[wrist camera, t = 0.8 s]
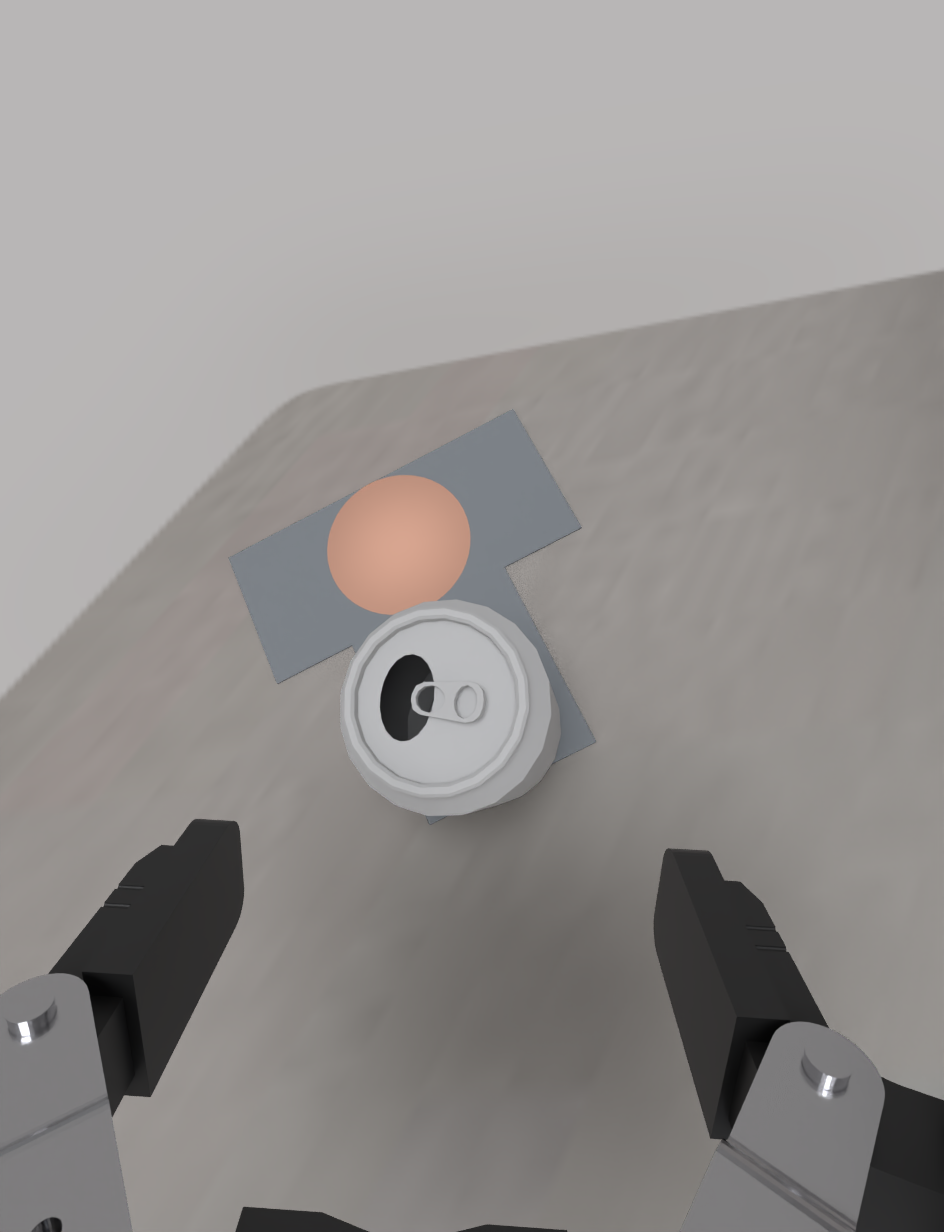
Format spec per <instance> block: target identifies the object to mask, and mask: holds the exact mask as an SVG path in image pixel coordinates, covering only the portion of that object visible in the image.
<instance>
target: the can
mask: <svg viewBox="0 0 944 1232" xmlns="http://www.w3.org/2000/svg"><path fill="white" fill-rule="evenodd" d="M340 728H341V731H342V735H343V738H344V741H345V745H346V748H347V751H348V755H349V758H350V760H351V761H352V762H353V764H354V765H355V767H356V768H357V770H358V771H359V773H360V774H361V776H362V777H363V778H364V780H365V781H366V783H367V784H368V786H370V787H371V788H372V789H374V790H375V791H376V792H378V793H379V794H380V795H382V796H383V797H384V798H386V799H387V800H388V801H390V802H391V803H392V804H394V805H395V806H398V807H401V808H404V809H407V810H411V811H414V812H417V813H420V814H423V815H426V816H447V815H465V814H468V813H472V812H475V811H479V810H483V809H486V808H490V807H494V806H497V805H500V804H503V803H505V802H508V801H511V800H513V799H516V798H519V797H521V796H523V795H524V794H525V793H526V792H528V791H529V790H530V789H531V788H533V787H534V786H535V785H536V784H537V783H539V782H540V781H541V780H542V778H543V777H544V775H545V774H546V772H547V771H548V769H549V767H550V766H551V764H552V763H553V761H554V759H555V756H556V752H557V748H558V744H559V740H560V736H561V727H560V712H559V707H558V704H557V701H556V699H555V696H554V693H553V690H552V687H551V685H550V682H549V679H548V677H547V674H546V672H545V669H544V667H543V664H542V662H541V659H540V657H539V654H538V652H537V649H536V648H535V647H534V646H533V644H532V643H531V642H530V641H529V640H528V639H527V637H526V636H525V635H524V634H523V633H522V631H521V630H520V629H519V628H518V627H517V625H516V624H515V623H513V622H511V621H510V620H508V619H506V618H505V617H503V616H502V615H500V614H498V613H497V612H495V611H493V610H492V609H490V608H489V607H486V606H482V605H478V604H473V603H469V602H465V601H461V600H457V599H456V600H443V601H430V602H423V603H420V604H418V605H415V606H413V607H410V608H408V609H405V610H403V611H400V612H398V613H396V614H394V615H393V616H391V617H390V618H389V619H388V620H386V621H385V622H384V623H383V624H381V625H380V626H379V627H378V628H376V629H375V630H374V631H373V632H371V633H370V634H369V635H368V637H367V638H366V640H365V641H364V643H363V644H362V645H361V647H360V648H359V650H358V651H357V653H356V654H355V656H354V657H353V659H352V660H351V662H350V665H349V668H348V671H347V674H346V677H345V680H344V683H343V687H342V690H341V693H340Z"/></svg>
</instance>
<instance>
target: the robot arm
mask: <svg viewBox="0 0 944 1232" xmlns="http://www.w3.org/2000/svg"><path fill="white" fill-rule="evenodd" d="M243 899H244V881H243V868H242V854H241V841H240V830H239V826H238V824H237V822H235V821H223V820H207V819H195V820H193V821H192V822H191V823H190V824H189V826H188V827H187V828H186V830H185V831H184V833H183V834H182V835H181V837H180V838H179V839H178V841H177V842H176V843H175V845H174V846H168V845H161V846H159V847H158V848H156V849H155V850H154V851H152V852H151V853H149V854H148V855H146V856H145V857H143V858H142V859H141V860H139V861H138V862H136V863H135V864H134V866H133V867H132V868H131V869H130V871H129V872H128V873H127V874H126V876H125V877H124V878H123V880H122V881H121V882H120V883H119V886H118V889H115V890H114V891H113V892H112V894H111V895H110V896H109V897H108V899H107V900H106V901H105V904H104V907H100V909H99V910H98V911H97V913H96V914H95V915H94V916H93V918H92V919H91V920H90V921H89V923H88V924H87V925H86V927H85V928H84V929H83V930H82V932H81V933H80V934H79V935H78V937H77V938H76V939H75V941H74V942H73V943H72V944H71V946H70V947H69V948H68V949H67V951H66V952H65V953H64V954H63V956H62V957H61V958H60V960H59V961H58V962H57V963H56V965H55V966H54V967H53V968H52V970H51V971H50V972H49V974H47V975H42V976H38V977H35V978H32V979H29V980H26V981H24V982H22V983H19V984H17V985H16V986H14V987H12V988H10V989H8V990H7V991H5V992H4V993H2V994H1V995H0V1232H133V1231H132V1225H131V1220H130V1214H129V1209H128V1203H127V1198H126V1192H125V1187H124V1181H123V1176H122V1170H121V1165H120V1159H119V1154H118V1148H117V1143H116V1137H115V1132H114V1126H113V1121H112V1117H113V1115H114V1113H115V1111H116V1109H117V1107H118V1105H119V1104H120V1102H121V1100H122V1098H123V1096H124V1095H129V1096H143V1097H151V1095H152V1093H153V1091H154V1089H155V1087H156V1085H157V1083H158V1081H159V1079H160V1077H161V1075H162V1073H163V1071H164V1069H165V1067H166V1065H167V1063H168V1061H169V1059H170V1057H171V1055H172V1053H173V1051H174V1049H175V1047H176V1045H177V1043H178V1041H179V1039H180V1037H181V1035H182V1033H183V1031H184V1029H185V1027H186V1025H187V1023H188V1021H189V1019H190V1017H191V1015H192V1013H193V1011H194V1009H195V1007H196V1005H197V1003H198V1001H199V999H200V997H201V995H202V993H203V991H204V989H205V987H206V985H207V983H208V981H209V979H210V977H211V975H212V973H213V971H214V969H215V967H216V965H217V963H218V961H219V959H220V957H221V955H222V953H223V951H224V949H225V947H226V945H227V943H228V941H229V939H230V937H231V935H232V933H233V931H234V929H235V927H236V925H237V923H238V920H239V917H240V914H241V910H242V905H243ZM654 940H655V947H656V952H657V956H658V959H659V963H660V966H661V969H662V973H663V976H664V980H665V983H666V987H667V990H668V994H669V997H670V1001H671V1004H672V1007H673V1011H674V1014H675V1018H676V1021H677V1025H678V1028H679V1032H680V1035H681V1039H682V1042H683V1045H684V1049H685V1052H686V1056H687V1059H688V1063H689V1066H690V1070H691V1073H692V1077H693V1080H694V1083H695V1087H696V1090H697V1094H698V1097H699V1101H700V1104H701V1108H702V1111H703V1115H704V1118H705V1121H706V1125H707V1128H708V1132H709V1135H710V1139H722V1140H721V1142H720V1143H719V1145H718V1147H717V1149H716V1151H715V1153H714V1155H713V1158H712V1160H711V1162H710V1164H709V1167H708V1169H707V1171H706V1173H705V1176H704V1178H703V1180H702V1182H701V1185H700V1187H699V1189H698V1191H697V1194H696V1196H695V1198H694V1200H693V1203H692V1205H691V1207H690V1209H689V1212H688V1214H687V1216H686V1218H685V1221H684V1223H683V1225H682V1228H681V1230H680V1232H944V1100H941V1099H938V1098H935V1097H932V1096H929V1095H926V1094H923V1093H921V1092H918V1091H915V1090H912V1089H909V1088H906V1087H903V1086H901V1085H898V1084H896V1083H893V1082H891V1081H889V1080H887V1079H885V1078H883V1077H881V1076H880V1074H879V1073H878V1071H877V1069H876V1067H875V1066H874V1064H873V1063H872V1062H871V1060H870V1059H869V1058H868V1057H867V1056H866V1054H865V1053H864V1052H863V1051H862V1050H861V1049H859V1048H858V1047H857V1046H856V1045H855V1044H854V1043H852V1042H851V1041H850V1040H848V1039H847V1038H846V1037H844V1036H842V1035H841V1034H839V1033H837V1032H835V1031H833V1030H831V1029H829V1027H828V1025H827V1023H826V1022H825V1020H824V1018H823V1016H822V1014H821V1012H820V1010H819V1008H818V1006H817V1005H816V1003H815V1001H814V999H813V997H812V995H811V993H810V991H809V990H808V988H807V986H806V984H805V982H804V980H803V978H802V976H801V974H800V973H799V971H798V969H797V967H796V965H795V963H794V961H793V959H792V957H791V956H790V954H789V952H786V946H785V944H784V942H783V940H782V939H781V937H780V935H779V933H778V932H776V930H775V925H774V924H773V922H772V920H771V918H770V916H769V914H768V912H767V910H766V908H765V907H764V905H763V903H762V902H761V901H760V900H759V899H758V898H757V897H756V896H755V895H754V894H753V893H752V892H750V891H749V890H748V889H747V888H746V887H745V886H744V885H743V884H742V883H741V882H737V881H724V879H723V877H722V875H721V873H720V871H719V869H718V866H717V864H716V862H715V860H714V858H713V856H712V854H711V853H710V852H709V851H703V850H686V849H670V848H668V849H667V850H666V851H665V854H664V857H663V863H662V869H661V876H660V882H659V889H658V895H657V901H656V908H655V914H654ZM236 1232H368V1231H366V1230H363V1229H361V1228H358V1227H356V1226H353V1225H351V1224H349V1223H346V1222H344V1221H341V1220H339V1219H337V1218H334V1217H332V1216H329V1215H327V1214H325V1213H322V1212H308V1211H294V1210H280V1209H267V1208H253V1207H243V1209H242V1213H241V1216H240V1219H239V1222H238V1225H237V1228H236ZM458 1232H567V1230H555V1229H542V1228H528V1227H514V1226H500V1225H483V1226H479V1227H475V1228H471V1229H466V1230H462V1231H458Z"/></svg>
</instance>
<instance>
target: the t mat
mask: <svg viewBox="0 0 944 1232" xmlns="http://www.w3.org/2000/svg"><path fill="white" fill-rule="evenodd" d="M581 528H582V527H581V526H580V524H579V522H578V520H577V519H576V517H575V515H574V513H573V512H572V510H571V508H570V506H569V505H568V503H567V501H566V500H565V498H564V496H563V494H562V493H561V491H560V489H559V487H558V486H557V484H556V482H555V481H554V479H553V477H552V475H551V474H550V472H549V470H548V468H547V467H546V465H545V463H544V462H543V460H542V458H541V456H540V455H539V453H538V451H537V449H536V448H535V446H534V444H533V443H532V441H531V439H530V437H529V436H528V434H527V432H526V430H525V429H524V427H523V425H522V423H521V422H520V420H519V418H518V417H517V415H516V413H515V411H514V410H513V409H512V410H510V411H508V412H506V413H505V414H503V415H501V416H499V417H497V418H495V419H493V420H491V421H489V422H487V423H485V424H483V425H482V426H480V427H478V428H476V429H474V430H472V431H470V432H468V433H466V434H464V435H462V436H461V437H459V438H457V439H455V440H453V441H451V442H449V443H447V444H445V445H443V446H441V447H440V448H438V449H436V450H434V451H432V452H430V453H428V454H426V455H424V456H422V457H420V458H418V459H417V460H415V461H413V462H411V463H409V464H407V465H405V466H403V467H401V468H399V469H397V470H396V471H394V472H392V473H390V474H388V475H386V476H384V477H382V478H380V479H378V480H376V481H375V482H372V483H370V484H368V485H367V486H365V487H363V488H361V489H359V490H357V491H355V492H353V493H352V494H350V495H348V496H346V497H344V498H342V499H340V500H338V501H336V502H334V503H332V504H331V505H329V506H327V507H325V508H323V509H321V510H319V511H317V512H315V513H313V514H311V515H310V516H308V517H306V518H304V519H302V520H300V521H298V522H296V523H294V524H292V525H290V526H288V527H287V528H285V529H283V530H281V531H279V532H277V533H275V534H273V535H271V536H269V537H267V538H266V539H264V540H262V541H260V542H258V543H256V544H254V545H252V546H250V547H248V548H246V549H245V550H243V551H241V552H239V553H237V554H235V555H233V556H231V557H229V560H230V563H231V565H232V568H233V571H234V573H235V576H236V578H237V581H238V584H239V586H240V589H241V591H242V594H243V597H244V599H245V602H246V604H247V607H248V610H249V612H250V615H251V617H252V620H253V623H254V625H255V628H256V630H257V633H258V635H259V638H260V641H261V643H262V646H263V648H264V651H265V654H266V656H267V659H268V661H269V664H270V667H271V669H272V672H273V674H274V677H275V680H276V682H277V684H279V683H281V682H282V681H284V680H286V679H288V678H290V677H292V676H294V675H296V674H298V673H300V672H302V671H304V670H306V669H308V668H310V667H312V666H314V665H316V664H318V663H320V662H321V661H323V660H325V659H327V658H329V657H331V656H333V655H335V654H337V653H339V652H341V651H343V650H345V649H347V648H349V647H351V646H353V648H354V651H355V653H357V651H358V650H359V648H360V647H361V645H362V644H363V643H364V641H365V640H366V638H367V637H368V635H369V634H370V633H371V632H373V631H374V630H375V629H376V628H378V627H379V626H380V625H381V624H383V623H384V622H385V621H386V620H388V619H389V618H390V617H391V616H393V615H394V614H396V613H398V612H400V611H403V610H405V609H408V608H410V607H413V606H415V605H418V604H420V603H423V602H430V601H443V600H456V599H457V600H461V601H465V602H469V603H473V604H478V605H482V606H486V607H489V608H490V609H492V610H493V611H495V612H497V613H498V614H500V615H502V616H503V617H505V618H506V619H508V620H510V621H511V622H513V623H515V624H516V625H517V627H518V628H519V629H520V630H521V631H522V633H523V634H524V635H525V636H526V637H527V639H528V640H529V641H530V642H531V643H532V644H533V646H534V647H535V648H536V649H537V652H538V654H539V657H540V659H541V662H542V664H543V667H544V669H545V672H546V674H547V677H548V679H549V682H550V685H551V687H552V690H553V693H554V696H555V699H556V701H557V704H558V707H559V712H560V727H561V736H560V740H559V744H558V748H557V752H556V756H555V759H554V761H553V763H555V762H557V761H559V760H561V759H563V758H565V757H567V756H569V755H571V754H573V753H575V752H577V751H579V750H581V749H583V748H585V747H587V746H589V745H591V744H593V743H595V742H596V740H595V738H594V736H593V734H592V733H591V731H590V729H589V727H588V725H587V723H586V721H585V719H584V717H583V716H582V714H581V712H580V710H579V708H578V706H577V704H576V702H575V700H574V698H573V697H572V695H571V693H570V691H569V689H568V687H567V685H566V683H565V681H564V679H563V678H562V676H561V674H560V672H559V670H558V668H557V666H556V664H555V662H554V660H553V659H552V657H551V655H550V653H549V651H548V649H547V647H546V645H545V643H544V641H543V640H542V638H541V636H540V634H539V632H538V630H537V628H536V626H535V624H534V622H533V621H532V619H531V617H530V615H529V613H528V611H527V609H526V607H525V605H524V603H523V602H522V600H521V598H520V596H519V594H518V592H517V590H516V588H515V586H514V584H513V583H512V581H511V579H510V577H509V575H508V573H507V571H506V569H505V567H507V566H508V565H510V564H512V563H514V562H516V561H518V560H520V559H522V558H524V557H526V556H528V555H530V554H532V553H534V552H536V551H538V550H540V549H542V548H544V547H545V546H547V545H549V544H551V543H553V542H555V541H557V540H559V539H561V538H563V537H565V536H567V535H569V534H571V533H573V532H575V531H577V530H579V529H581ZM553 763H552V764H553ZM425 816H426V815H425ZM447 816H449V815H447ZM447 816H426V818H427V820H428V823H429V825H431V824H433V823H435V822H437V821H439V820H441V819H443V818H445V817H447Z"/></svg>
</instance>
